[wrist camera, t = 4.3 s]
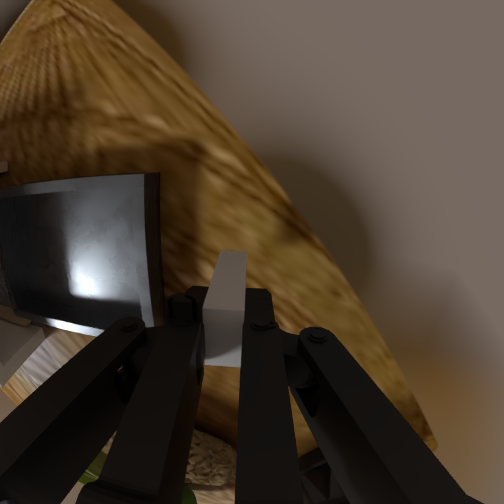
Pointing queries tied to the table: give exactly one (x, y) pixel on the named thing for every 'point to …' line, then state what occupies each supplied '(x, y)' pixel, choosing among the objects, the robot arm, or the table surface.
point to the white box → (15, 335)
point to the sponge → (205, 460)
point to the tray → (84, 251)
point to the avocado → (188, 496)
